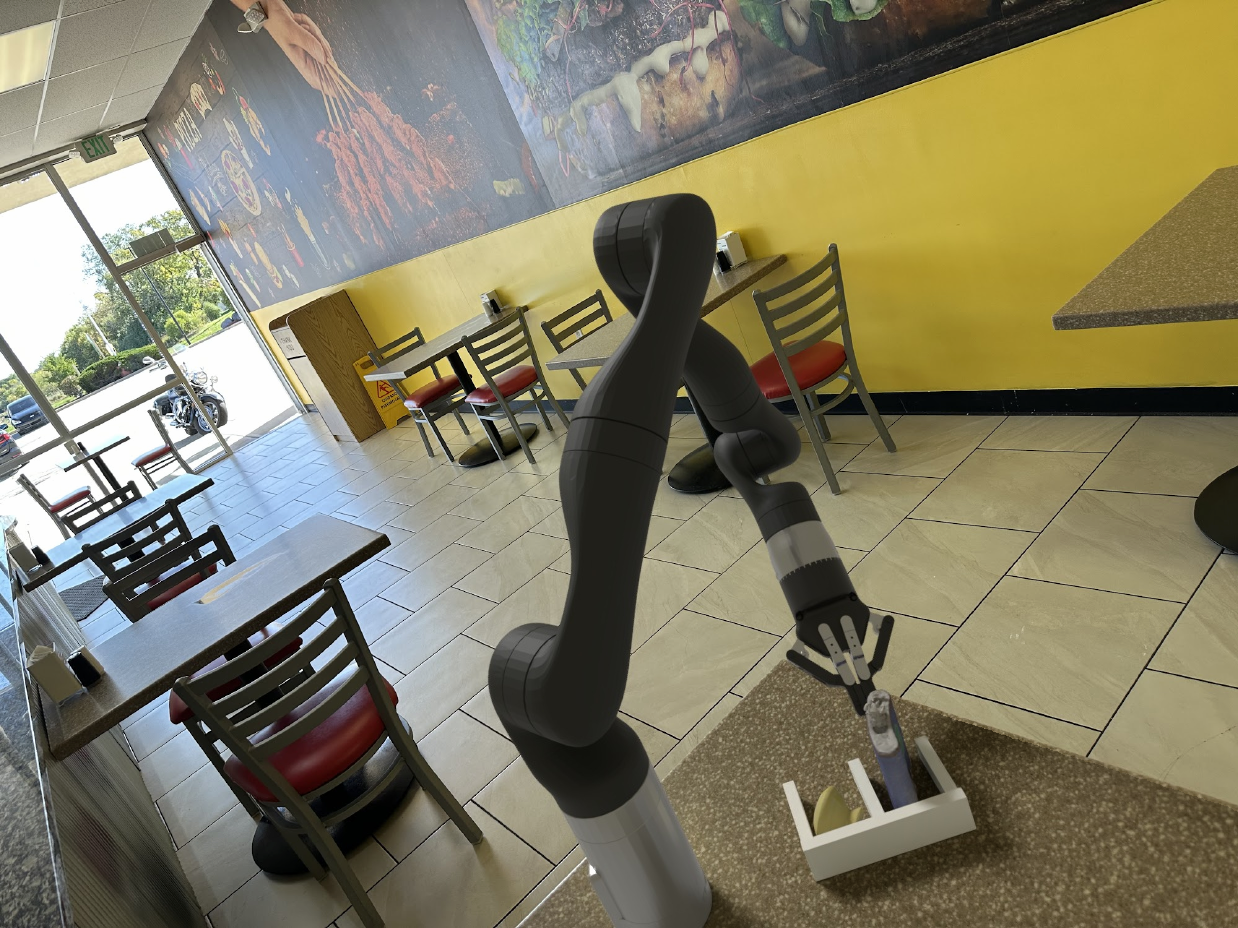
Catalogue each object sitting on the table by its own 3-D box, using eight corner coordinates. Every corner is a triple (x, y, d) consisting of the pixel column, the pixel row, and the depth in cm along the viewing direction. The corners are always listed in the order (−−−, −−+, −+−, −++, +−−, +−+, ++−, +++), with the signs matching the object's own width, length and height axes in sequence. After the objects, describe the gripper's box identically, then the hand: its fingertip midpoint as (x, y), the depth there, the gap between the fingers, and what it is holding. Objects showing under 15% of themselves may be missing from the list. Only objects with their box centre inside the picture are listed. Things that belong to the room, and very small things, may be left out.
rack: (815, 881, 74) (803, 851, 73) (789, 801, 84) (778, 773, 83) (976, 828, 73) (966, 796, 72) (930, 753, 83) (921, 723, 81)
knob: (813, 849, 78) (798, 812, 76) (830, 807, 81) (816, 771, 80) (860, 859, 75) (845, 821, 73) (875, 816, 78) (861, 778, 77)
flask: (925, 821, 76) (895, 736, 72) (893, 825, 77) (863, 741, 73) (910, 751, 84) (883, 671, 81) (882, 755, 85) (854, 677, 81)
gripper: (752, 581, 88) (813, 736, 81) (865, 539, 87) (938, 693, 79) (757, 596, 95) (814, 741, 87) (862, 557, 94) (930, 701, 86)
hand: (873, 718), depth 83 cm, fingers closed
